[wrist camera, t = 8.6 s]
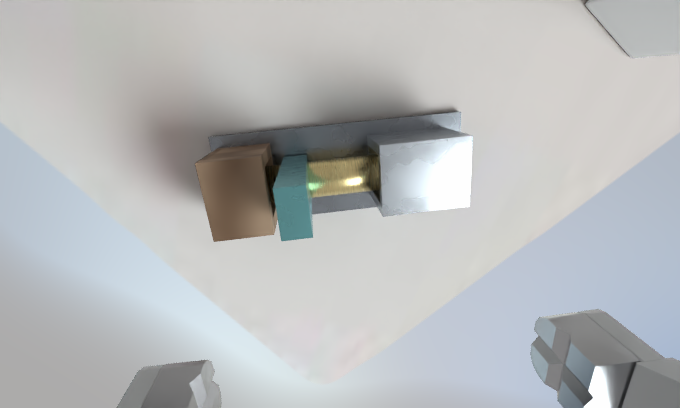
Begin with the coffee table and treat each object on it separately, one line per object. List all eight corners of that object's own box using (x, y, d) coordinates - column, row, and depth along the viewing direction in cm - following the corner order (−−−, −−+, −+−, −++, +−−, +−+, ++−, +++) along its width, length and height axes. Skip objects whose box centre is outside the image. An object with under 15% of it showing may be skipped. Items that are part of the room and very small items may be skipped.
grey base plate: (458, 111, 30) (493, 116, 24) (455, 195, 32) (486, 218, 27) (210, 136, 28) (186, 148, 23) (229, 221, 31) (211, 251, 25)
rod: (402, 144, 29) (444, 169, 20) (403, 182, 30) (443, 221, 21) (254, 160, 28) (230, 193, 20) (261, 198, 30) (241, 246, 21)
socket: (270, 142, 29) (260, 156, 23) (280, 205, 31) (273, 234, 25) (218, 147, 29) (194, 163, 23) (232, 211, 31) (213, 241, 25)
